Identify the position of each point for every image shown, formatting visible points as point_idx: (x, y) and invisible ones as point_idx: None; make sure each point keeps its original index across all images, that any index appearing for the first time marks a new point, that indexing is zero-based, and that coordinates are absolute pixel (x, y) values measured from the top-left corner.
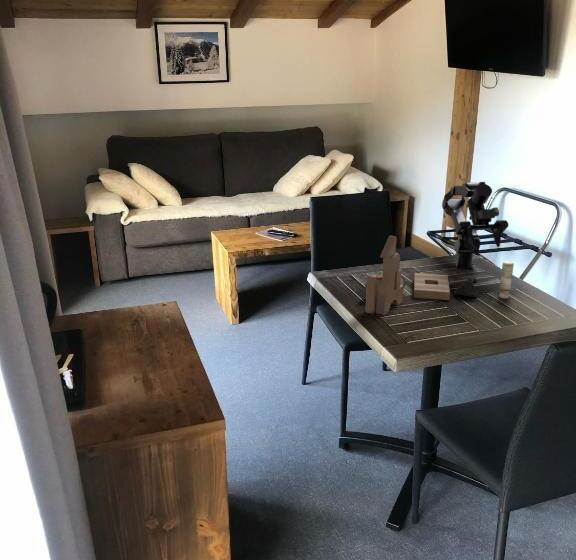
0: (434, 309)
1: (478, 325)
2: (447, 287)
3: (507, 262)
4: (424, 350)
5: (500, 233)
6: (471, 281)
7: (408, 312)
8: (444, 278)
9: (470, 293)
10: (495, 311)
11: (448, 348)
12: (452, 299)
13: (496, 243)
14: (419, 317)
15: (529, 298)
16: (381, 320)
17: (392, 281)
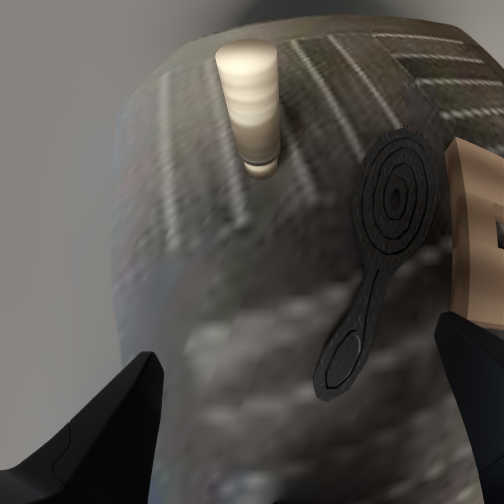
0: (464, 111)
1: (371, 44)
2: (466, 172)
3: (244, 59)
4: (438, 26)
5: (36, 464)
6: (370, 275)
7: (499, 113)
8: (479, 272)
9: (391, 147)
10: (323, 80)
11: (412, 19)
12: (436, 156)
13: (153, 417)
14: (477, 90)
15: (176, 158)
16: None
17: None
